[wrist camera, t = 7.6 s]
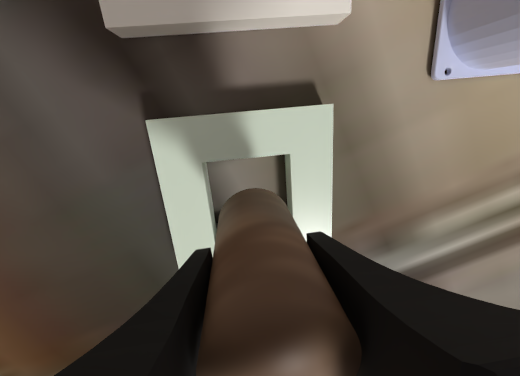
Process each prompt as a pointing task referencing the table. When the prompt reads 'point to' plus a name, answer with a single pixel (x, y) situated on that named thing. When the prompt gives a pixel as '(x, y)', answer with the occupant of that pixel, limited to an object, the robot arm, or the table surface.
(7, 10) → the table surface
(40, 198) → the table surface
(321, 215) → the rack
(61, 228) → the table surface
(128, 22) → the socket block
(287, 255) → the peg
